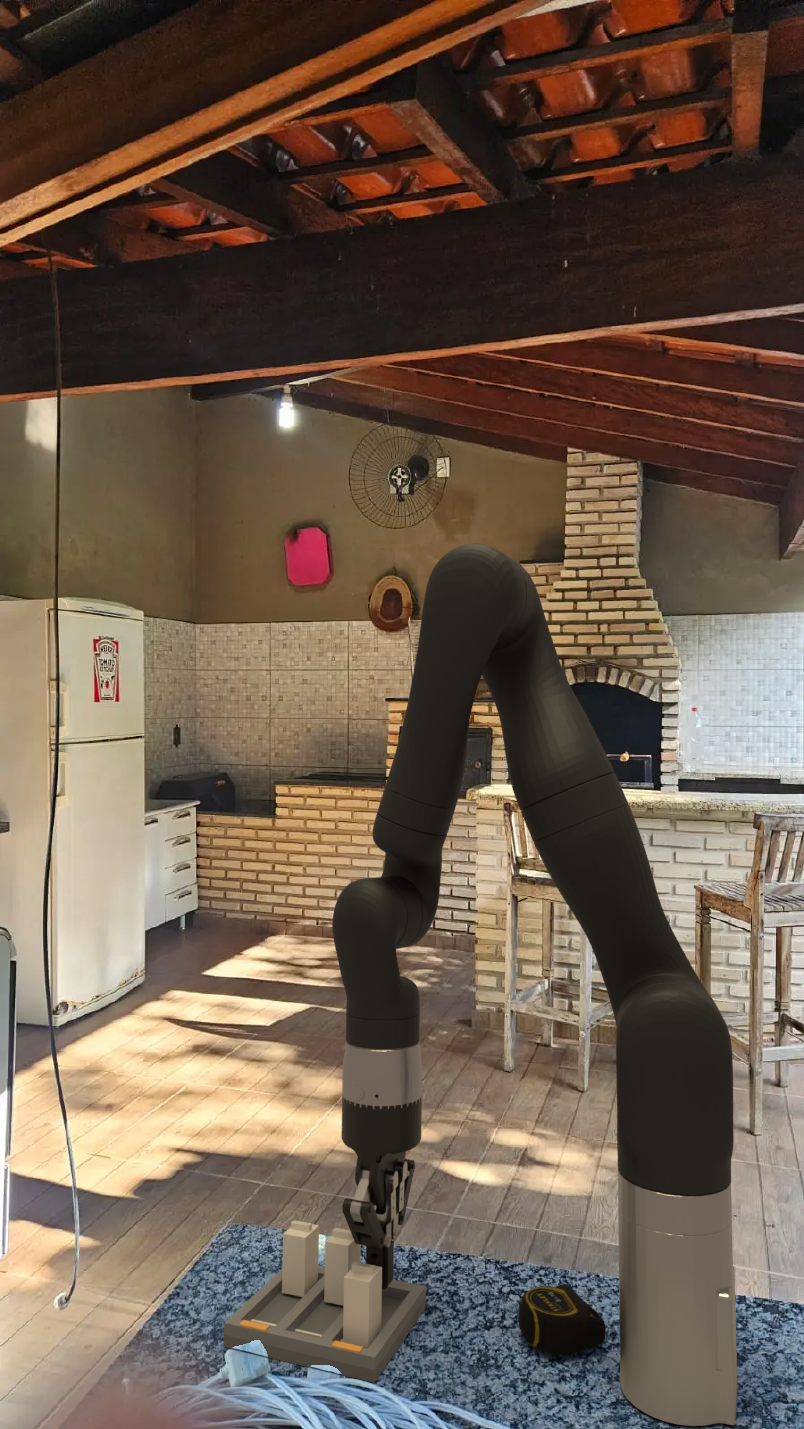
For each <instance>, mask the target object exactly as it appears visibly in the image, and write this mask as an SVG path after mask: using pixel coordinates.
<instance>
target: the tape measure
mask: <svg viewBox="0 0 804 1429" xmlns="http://www.w3.org/2000/svg"><path fill="white" fill-rule="evenodd" d="M517 1315H518V1317H517V1318H518V1320H517V1321H518V1327H519V1330H520V1332H521V1335H522V1338H523V1339H524V1340H525V1341H526V1342H527V1343H528V1344H529V1345H530V1346H532V1347H533V1348H535V1349H536V1350H538V1351H541V1352H543V1353H546V1354H549V1355H554V1356H561V1357H562V1356H563V1357H565V1356H566V1357H567V1356H570V1357H571V1356H574V1355H576V1354H580V1353H582V1352H585V1351H587V1350H592V1349H595V1348H598V1347H599V1346H601V1345H602V1344H603V1343H604V1342H605V1341H606V1333H607V1329H606V1327H607V1325H606V1323H605V1320H604V1319H603V1317H601V1315H600V1314H599V1312H597V1311H596V1309H594V1308H593V1307H592V1306H591V1305H589V1304H588V1303H587V1302H586V1301H585V1300H584V1299H582V1297H581V1296H580V1295H579V1294H578V1293H577V1292H576V1291H575V1290H574V1289H573V1287H571V1286H570V1285H568V1284H567V1283H563V1284H557V1285H556V1286H548V1285H543V1286H542V1285H541V1286H536V1287H534V1288H531V1289H529V1290H528V1291H526V1292H525V1293H524V1294H523V1295H522V1297H521V1300H520V1302H519V1304H518V1314H517Z"/></svg>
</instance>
